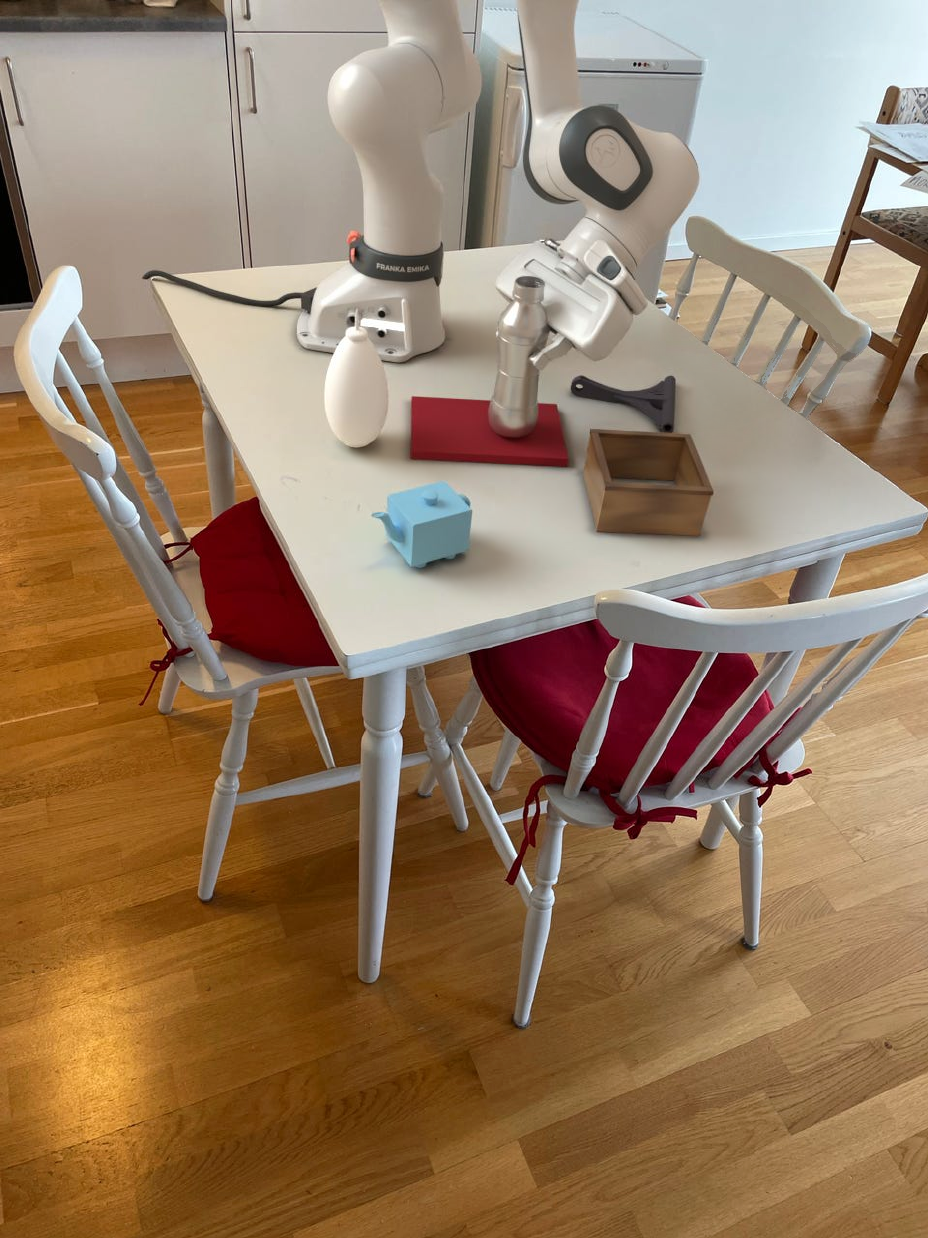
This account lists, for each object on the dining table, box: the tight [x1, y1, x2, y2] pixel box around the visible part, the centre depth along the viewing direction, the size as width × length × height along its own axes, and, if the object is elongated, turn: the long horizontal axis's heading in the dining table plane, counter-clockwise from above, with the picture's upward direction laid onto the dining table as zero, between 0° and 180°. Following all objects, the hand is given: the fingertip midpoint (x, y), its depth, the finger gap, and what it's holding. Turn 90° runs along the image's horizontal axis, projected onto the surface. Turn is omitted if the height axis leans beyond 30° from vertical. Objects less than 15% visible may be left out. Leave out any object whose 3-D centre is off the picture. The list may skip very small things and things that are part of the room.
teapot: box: [370, 480, 473, 569], centre depth 104 cm, size 12×6×8 cm, turn 120°
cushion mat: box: [410, 395, 569, 467], centre depth 127 cm, size 20×14×1 cm
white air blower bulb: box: [323, 309, 389, 448], centre depth 117 cm, size 8×8×18 cm
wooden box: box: [582, 428, 715, 537], centre depth 116 cm, size 13×13×6 cm
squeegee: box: [570, 374, 677, 433], centre depth 136 cm, size 14×15×3 cm
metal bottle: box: [488, 276, 551, 438], centre depth 119 cm, size 6×7×20 cm
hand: (517, 352), depth 118 cm, fingers closed on metal bottle, 6 cm apart
